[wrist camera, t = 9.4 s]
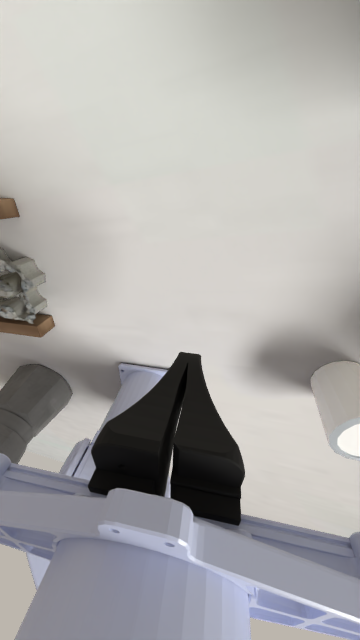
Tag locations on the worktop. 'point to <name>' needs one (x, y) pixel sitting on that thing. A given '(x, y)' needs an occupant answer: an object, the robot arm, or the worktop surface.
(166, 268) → the worktop surface
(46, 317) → the walnut bracket
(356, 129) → the worktop surface
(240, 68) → the worktop surface
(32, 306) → the egg carton
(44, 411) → the coffeepot
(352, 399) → the shot glass
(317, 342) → the worktop surface
